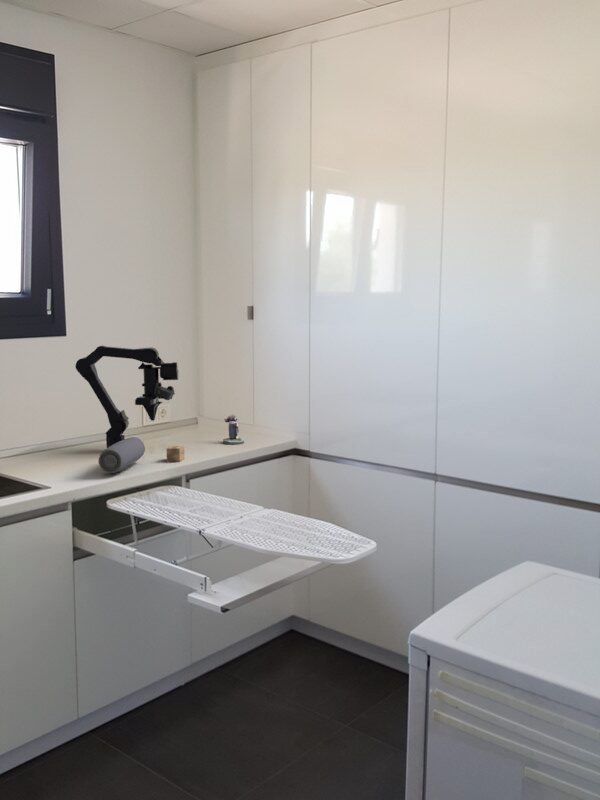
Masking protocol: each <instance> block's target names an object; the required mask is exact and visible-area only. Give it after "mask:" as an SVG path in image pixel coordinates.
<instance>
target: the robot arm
mask: <svg viewBox="0 0 600 800" xmlns="http://www.w3.org/2000/svg"><path fill="white" fill-rule="evenodd" d="M103 357H107V358H108V357H109V358H121V359H129V360H130V359H131V360H135V361H139V362H141V364H140V365H139V366H138V368H137V369H138V370H143V382H142V383H141V387H143V389H144V390H143V391H144V392H143V394H142V395H141V396H139V397H136V398H135V399H134V405H135V406H142V407H143V408H144V410H145V412H146V413H147V415H148V418H149V419H150V421H151V422H154V421H155V419H156V416H157V411H158V408H159V406H161V404H162V403H163V401H160V400H162V399H163V400H165V401H170V400H172V399H173V396H174V395H175V389H174V386H171V385H168V386H167V387H166V386H165V387H164V386H162V385H163V384H162V383H161V382H160V379H162V380H163V381H178V380H179V369H178V368H179V367H178V362H175V361H174V362H164V361H163V360H162V358H161V357H160V354H159V351H158V349H156V348H155V347H153V346H152V347H140V348H128V347H127V348H125V347H118V346H117V347H116V346H106V345H99V346H97V347H96V348H95V349H94V350H93V351H92V352H91V353H90V354H87V356H85V357H82V358H79V359H77V361H76V362H75V370H76V371H77V372H78V373H79V375H80V376H81V377H82V378H83V379H84V380H85V381H87V382H88V385H90V387H91V389H92V390H93V393H94V394H95V396H96V397H97V399H98V401H99V403H100V404H101V406H102V407H103V409H104V411H105V413H106V415H107V419H108V423H109V425H110V427H109V429H108V430H107V431H106V432H105V435H106V436H105V441H106V449H107V448H108V447H110V446H112V445H113V444H115V443H117V442H119V441H122V440H124V439H126V438H125V435H124V432H125V431H127V429H128V428H129V424H130V421H129V419H130V418H129V416H127V415H126V411H125V410H124V409H122V410H121V411H120V410H119V409H118V407H116V405H115V403H114V401H113V400H112V397H111V396H110V394H109V393H108V390H107V389H106V388H105V386H104V384H103V383H102V381H101V379H100V378H99V375H98V371H97V368H96V367H97V366H96V365H95V364H97V363H98V362H99V361H101V359H103Z"/></svg>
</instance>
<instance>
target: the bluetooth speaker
mask: <svg viewBox="0 0 600 800" xmlns="http://www.w3.org/2000/svg"><path fill="white" fill-rule="evenodd" d="M145 446H146V445H145V444H144V442H143V440H141V439H140V438H139V437H135V436H132V437H126V438H125V439H124V440H122V441H119V442H117V443H115V444H113V445H112V446H110V447H108V448H107V447H106V448H105V449H104V450H103V451H102V452H101V453H100V454H99V456H98V465H99V467H100V469H101V470H102V471H103V472H105V473H108V474H115V473H117V472H120V473H124V472H126V471H127V470H129V469H130V468H132V465H134V463H136V462H137V461H139V460H140V459H141V458H142V457H143V456H144V454H145V451H146V447H145ZM128 468H129V469H128ZM125 470H126V471H125ZM123 471H124V472H123Z"/></svg>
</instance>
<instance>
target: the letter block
mask: <svg viewBox="0 0 600 800" xmlns="http://www.w3.org/2000/svg"><path fill="white" fill-rule="evenodd" d="M165 449H166V463H167V462H168V463H181V462H183V461H185V460H186V459H185V455H186V454H185V446H184V445H183V446H182V445H171V446H169V447H166V448H165Z"/></svg>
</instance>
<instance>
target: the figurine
mask: <svg viewBox="0 0 600 800" xmlns="http://www.w3.org/2000/svg"><path fill="white" fill-rule="evenodd" d="M237 421H238V418H237V417H236V415H235V414H231V415H228V416H227V417H224V422H225V423H228V437H226V438H223V440H222V442H223V443H222V444H223V445H226V446H227V445H228V446H239V445H243V444H245V439H244V438H241V437H238V433H239V431H240V429H239V426H240V425H239V423H238V422H237Z"/></svg>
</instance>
